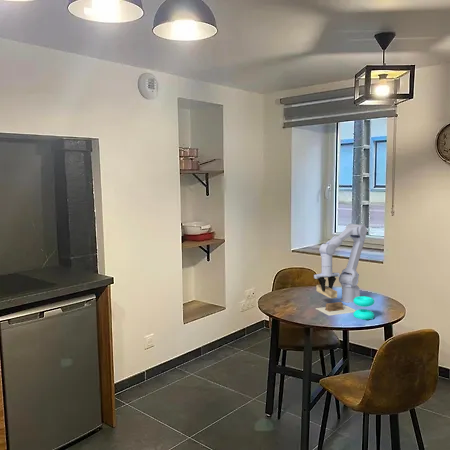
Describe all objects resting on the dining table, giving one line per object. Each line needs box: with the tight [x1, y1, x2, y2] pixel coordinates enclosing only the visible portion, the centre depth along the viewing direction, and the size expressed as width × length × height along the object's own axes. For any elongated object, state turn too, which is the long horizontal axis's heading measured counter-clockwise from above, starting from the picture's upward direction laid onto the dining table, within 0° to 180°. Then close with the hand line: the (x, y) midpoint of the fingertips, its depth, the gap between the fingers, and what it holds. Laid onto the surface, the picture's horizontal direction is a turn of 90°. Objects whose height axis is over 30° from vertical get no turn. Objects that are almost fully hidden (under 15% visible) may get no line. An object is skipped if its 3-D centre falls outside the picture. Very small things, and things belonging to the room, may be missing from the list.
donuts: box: [352, 295, 375, 321], centre depth 231 cm, size 10×10×10 cm
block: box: [325, 301, 344, 312], centre depth 245 cm, size 9×4×4 cm, turn 108°
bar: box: [316, 284, 338, 299], centre depth 252 cm, size 4×16×4 cm, turn 17°
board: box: [315, 304, 357, 316], centre depth 244 cm, size 18×14×1 cm
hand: (326, 290), depth 252 cm, fingers closed on bar, 3 cm apart
